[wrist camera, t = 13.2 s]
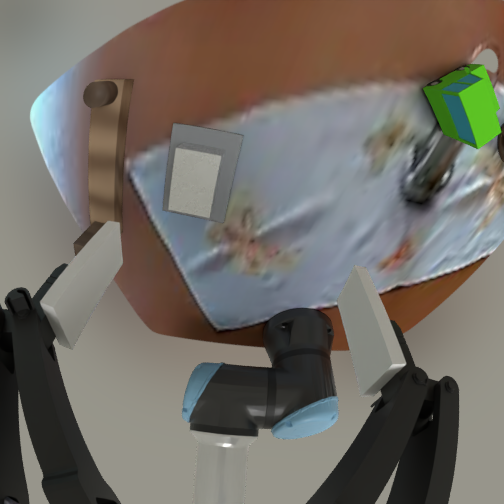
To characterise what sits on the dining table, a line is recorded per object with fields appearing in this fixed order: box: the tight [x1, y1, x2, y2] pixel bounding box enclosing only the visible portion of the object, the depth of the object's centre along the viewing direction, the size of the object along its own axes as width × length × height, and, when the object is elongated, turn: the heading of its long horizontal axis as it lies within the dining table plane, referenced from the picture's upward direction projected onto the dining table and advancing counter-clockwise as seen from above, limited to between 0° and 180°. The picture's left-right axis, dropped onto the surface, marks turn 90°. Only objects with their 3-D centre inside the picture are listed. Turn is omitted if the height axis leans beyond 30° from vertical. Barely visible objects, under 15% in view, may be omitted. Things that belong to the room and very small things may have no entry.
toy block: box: [423, 64, 501, 149], centre depth 23 cm, size 10×13×10 cm
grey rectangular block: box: [168, 142, 225, 218], centre depth 36 cm, size 9×6×4 cm, turn 167°
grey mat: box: [163, 123, 243, 223], centre depth 38 cm, size 14×10×1 cm
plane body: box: [74, 79, 134, 256], centre depth 32 cm, size 26×5×10 cm, turn 167°
